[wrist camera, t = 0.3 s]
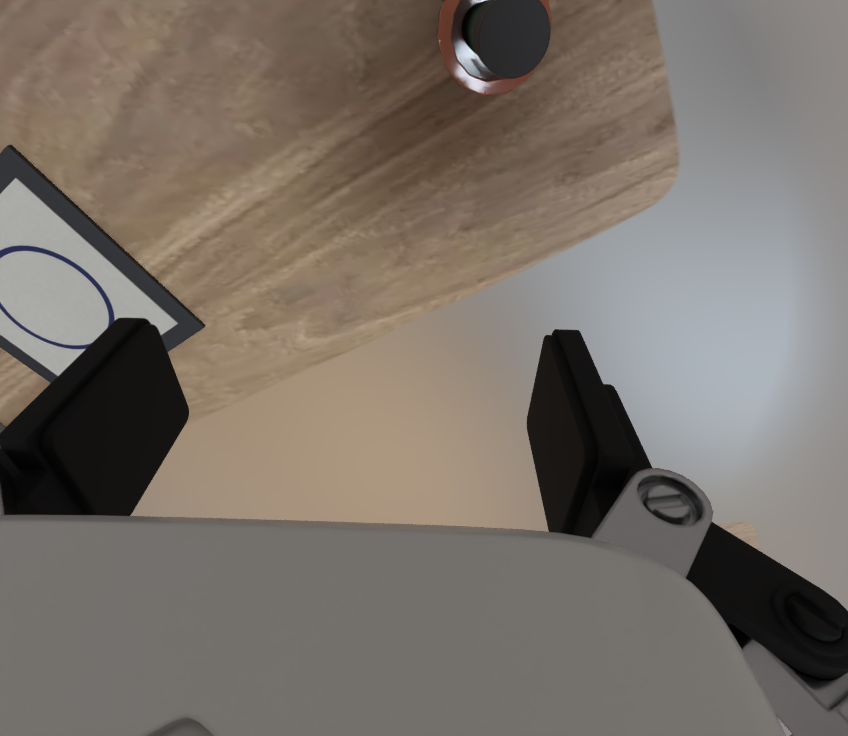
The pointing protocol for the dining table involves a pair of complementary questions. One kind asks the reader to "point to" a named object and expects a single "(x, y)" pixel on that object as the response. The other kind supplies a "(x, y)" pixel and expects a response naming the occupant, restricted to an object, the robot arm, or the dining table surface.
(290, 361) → the dining table surface
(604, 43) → the dining table surface
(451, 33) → the pen pot
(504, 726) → the robot arm
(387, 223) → the dining table surface
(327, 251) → the dining table surface
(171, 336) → the target board
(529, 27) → the marker
